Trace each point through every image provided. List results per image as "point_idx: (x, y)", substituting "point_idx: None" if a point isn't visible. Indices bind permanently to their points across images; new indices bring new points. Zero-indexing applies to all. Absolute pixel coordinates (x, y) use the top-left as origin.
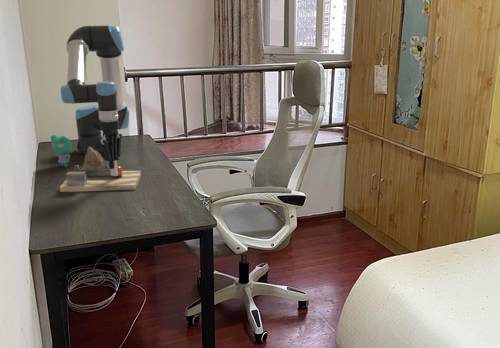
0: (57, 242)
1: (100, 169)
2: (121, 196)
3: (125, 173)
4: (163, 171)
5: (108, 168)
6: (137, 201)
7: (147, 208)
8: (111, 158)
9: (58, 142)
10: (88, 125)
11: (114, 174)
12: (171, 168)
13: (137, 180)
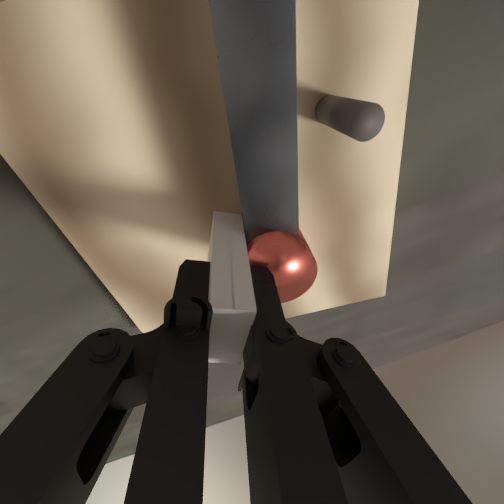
0: None
1: (242, 95)
2: (47, 314)
3: (338, 242)
4: (406, 334)
5: (289, 178)
6: (39, 374)
7: (6, 410)
8: (129, 413)
9: None
10: None
11: (209, 248)
12: (440, 343)
13: None
